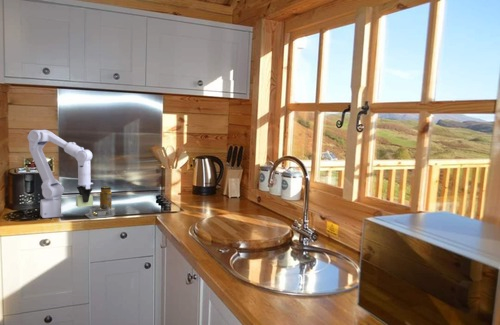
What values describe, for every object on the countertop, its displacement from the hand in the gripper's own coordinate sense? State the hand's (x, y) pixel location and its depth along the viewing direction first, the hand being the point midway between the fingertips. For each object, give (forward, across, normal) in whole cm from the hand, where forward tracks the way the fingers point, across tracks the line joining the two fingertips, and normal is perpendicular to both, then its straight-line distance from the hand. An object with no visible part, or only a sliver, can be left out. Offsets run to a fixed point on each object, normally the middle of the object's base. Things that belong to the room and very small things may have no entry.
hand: (84, 201), depth 207 cm
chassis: (+8, +2, -8) cm, 12 cm away
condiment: (+9, +18, -15) cm, 25 cm away
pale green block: (+2, 0, 0) cm, 2 cm away
